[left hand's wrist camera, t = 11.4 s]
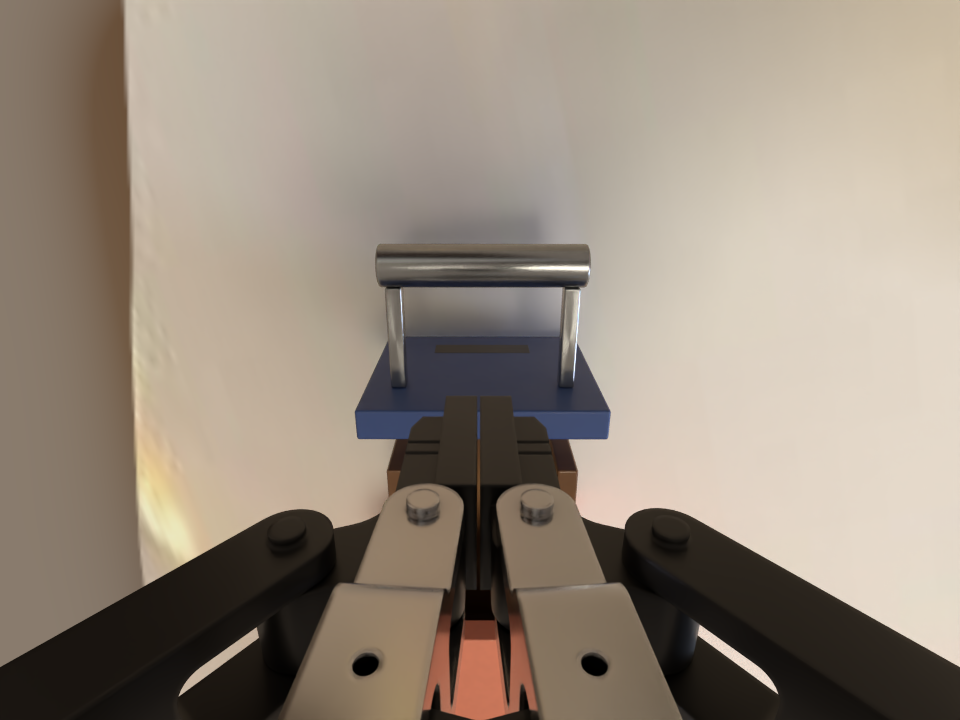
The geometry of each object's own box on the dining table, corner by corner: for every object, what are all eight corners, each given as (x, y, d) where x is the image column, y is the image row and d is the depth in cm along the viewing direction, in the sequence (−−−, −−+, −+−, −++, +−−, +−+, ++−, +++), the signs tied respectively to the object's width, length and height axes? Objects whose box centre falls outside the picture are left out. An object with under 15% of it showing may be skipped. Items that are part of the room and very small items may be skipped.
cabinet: (392, 492, 32) (355, 640, 22) (570, 492, 32) (609, 640, 22) (408, 714, 39) (385, 898, 29) (553, 714, 39) (577, 898, 29)
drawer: (382, 222, 25) (339, 255, 17) (582, 222, 25) (627, 256, 17) (407, 605, 34) (385, 739, 26) (555, 605, 34) (577, 740, 26)
